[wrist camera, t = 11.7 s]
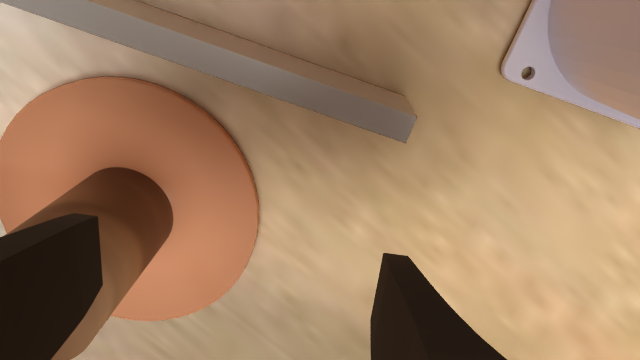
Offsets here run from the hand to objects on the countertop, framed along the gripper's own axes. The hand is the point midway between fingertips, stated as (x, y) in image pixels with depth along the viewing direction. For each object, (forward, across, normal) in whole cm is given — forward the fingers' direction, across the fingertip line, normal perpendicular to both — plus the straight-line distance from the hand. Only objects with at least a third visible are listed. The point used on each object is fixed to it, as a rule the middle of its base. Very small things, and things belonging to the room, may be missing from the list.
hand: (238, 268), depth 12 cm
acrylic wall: (+9, +5, -5) cm, 12 cm away
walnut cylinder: (+9, +7, +4) cm, 12 cm away
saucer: (+9, +7, +4) cm, 12 cm away
